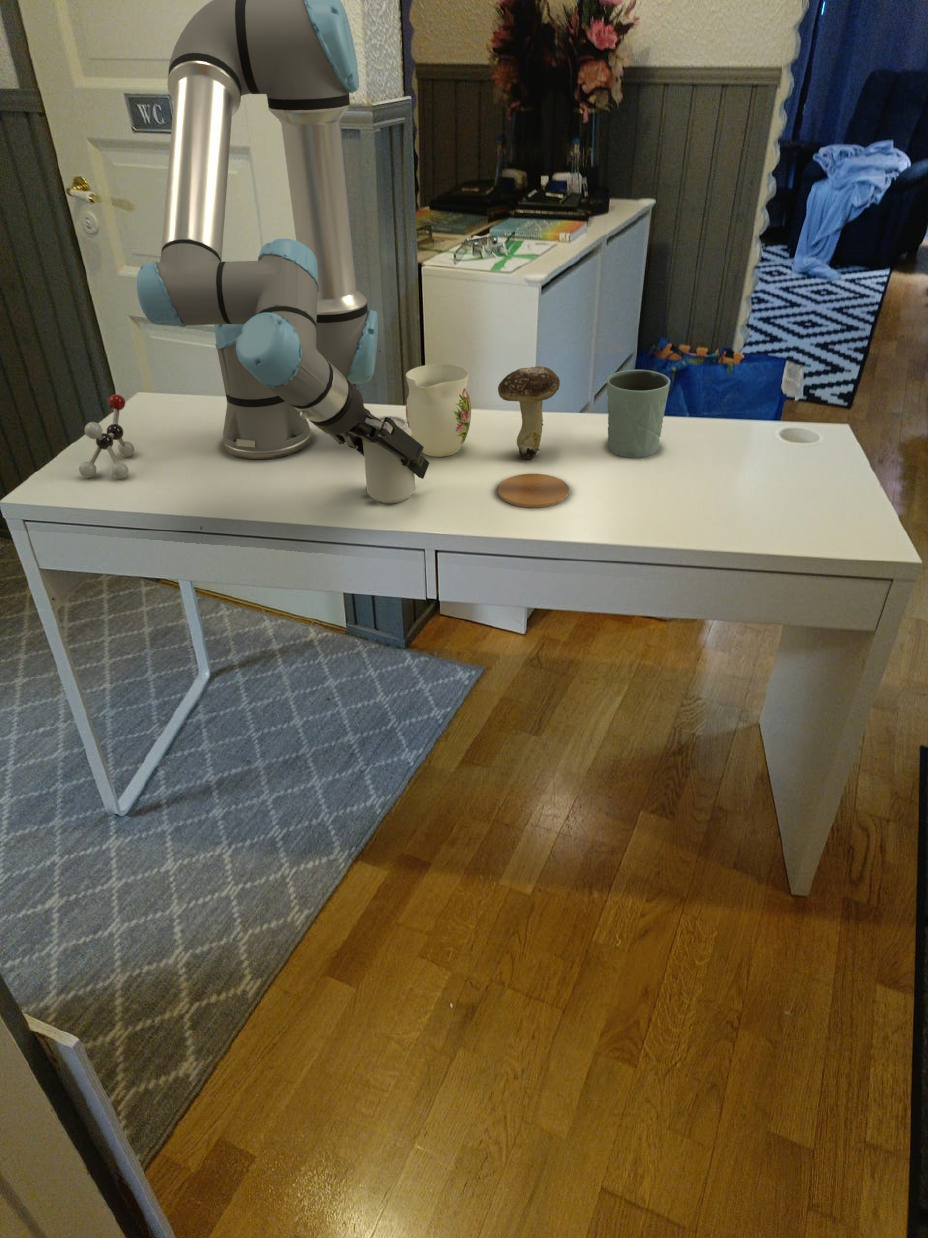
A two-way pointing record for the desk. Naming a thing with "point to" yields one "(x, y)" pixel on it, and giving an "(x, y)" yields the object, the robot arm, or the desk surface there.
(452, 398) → the pitcher
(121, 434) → the molecular model
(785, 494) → the desk surface
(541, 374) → the mushroom
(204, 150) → the robot arm
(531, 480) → the coaster
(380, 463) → the can
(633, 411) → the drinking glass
